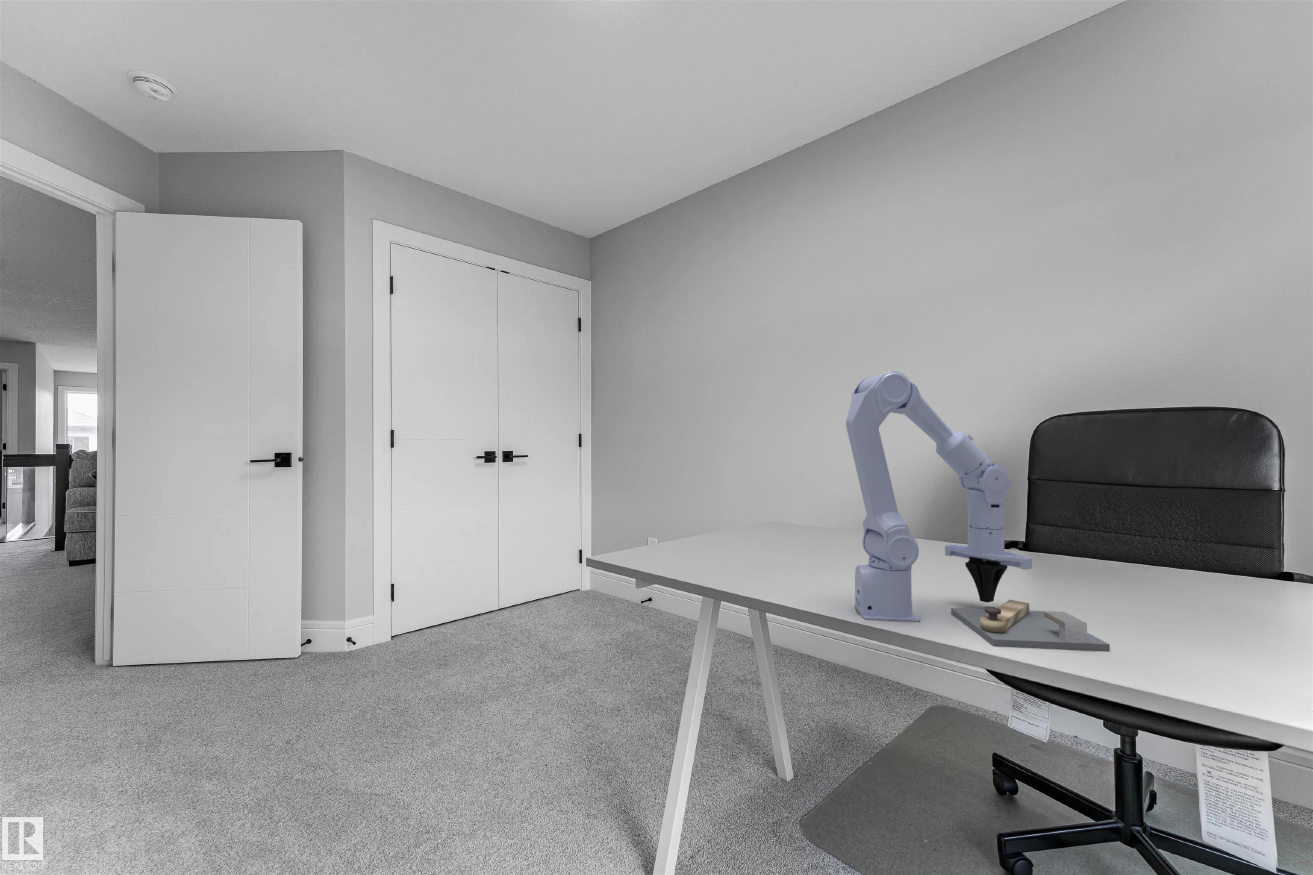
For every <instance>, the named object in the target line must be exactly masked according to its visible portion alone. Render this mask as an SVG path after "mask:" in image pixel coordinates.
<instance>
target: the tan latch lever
mask: <svg viewBox="0 0 1313 875" xmlns="http://www.w3.org/2000/svg"><path fill="white" fill-rule="evenodd" d="M984 609H985V612H986V613H988V614H987V615H985V616H981V617H980V627H981V628H982V629H984V630H987V631H991V632H999V633H1001V632H1006V631H1007V628H1009V627H1010V626H1011V625H1013V624H1014V623H1015V622H1017V621H1018V620H1019V619H1020V618H1022V617H1023V616H1024V615H1026V614H1027V613H1028V612H1029V611H1030V603H1029V602H1026V601H1020V600H1014V599H1008V600H1006V601H1005V602H1004V603H1002V604H1000V605H998V606H997V607H996V606H985V607H984Z"/></svg>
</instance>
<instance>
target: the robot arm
mask: <svg viewBox="0 0 1313 875" xmlns="http://www.w3.org/2000/svg"><path fill="white" fill-rule="evenodd" d="M891 413H893V414H899V415H904V416H905V417H907V418H908V419H909V420H910V421H911V422H912V423H914V425H916V426H917V427H918V428H919V429H920V430H921V431H922V432H923V433H925V435H927V436H928V437H929V438H930V439H931V440H933V441H934V442H935V443H936V445H935V446H936V447H935V451H936V454H937V455H939V457H940V458H941V459H942V460H943V461H944V462H945V463H946V464H947V465H948V466H949V467H950V469H952V470H953V471H954V472H955V473H956V474H957V475H958V480H959V483H960V485H961V487H963V488H964V489H965V490H966V492H967V493H966V494H967V497H966V500H967V503H966V504H967V546H966V545H956V544H947V545H944V553H945V554H944V555H945V556H947V557H948V556H949V557H952V556H954V557H956V558H957V557H959V558H963V559H964V558H965V559H968V561H966V562H964V564H965V568H966V569H967V571H968V572H969V574H970V576H971V577H972V579H973V582H974V584H975V587H976V590H977V594H978V596H979V601H980V602H984V603H988V604H989V603H992V602H994V599H995V594H996V592H997V588H998V585H999V583H1000V580H1001V579H1002V577H1003V575H1004V574H1005V572H1006V571H1007V570H1008V567H1014V568H1019V569H1021V570H1026V571H1027V570H1031V569H1033V558H1032V557H1031V556H1025V555H1022V554H1016V553H1012V552H1009V551H1005V529H1004V528H1005V520H1004V519H1005V517H1004V516H1005V514H1004V508H1005V507H1004V505H1005V504H1004V503H1005V501H1006V494H1007V492H1008V490H1009V489H1010V488H1011V484H1012V478H1011V477H1009V474H1008V472H1007V470H1006V468H1005V467H1004V466H1002V465H1001V464H999V463H993V462H992V461H991V456H989V454H987V453H984V452H983V451H982V450H981V449H980V448H979V447H978V446H977V445H976V444H975V443H974V442H973V441H974V438H973V437H972V436H971V435H970V434H968V433H967V434H965V433H964V432H962V431H953V430H952V429H951V428H950V426H948V425H947V424H946V422H945V421H944V420H943V419H942V417H940V415H939V414H938V413H937V412H936V411H935V410H934V409H933V407H932V406H931V405H930V404H929V403H928V402H927V401H926V399H925V398H924V397H923V396H922V395H921V393H920V391H919V389H918V386H917V385H916V384H915V383H913V382H912V381H910V380H909V378H908V377H907V376H906V375H905V374H904V373H902V372H901V371H897V370H890V371H886V372H884V373H882V374H879V375H875V376H870V377H865V378H864V379H862V380H861V381H859V383H858V384H857V385H856V386H855V387H854V389H853V390H852V391H851V402H850V405H849V409H848V413H847V417H846V419H845V427H846V431H847V436H848V440H849V444H850V448H851V449H850V450H851V452H852V455H853V456H852V458H853V461H854V465H855V470H856V474H857V478H858V482H859V487H860V491H861V495H862V500H863V503H864V504H863V505H864V508H865V512H866V517H865V518H864V520H863V522H862V525H863V526H862V527H863V536H862V539H861V540H862V548H863V550H864V552H865V553H866V554H867V555H868V561H867V562H868V563H867V564H864V565H858V564H857V566H855V572H854V597H855V598H854V601H855V603H854V608H855V610H857V612H858V613H859V615H860V616H861V617H862V618H863V619H864V620H870V621H871V620H874V621H896V622H897V621H898V622H899V621H901V622H920V621H921V618H920V617H919V616H918V615H917V614H915V612H914V611H913V603H912V602H913V601H912V600H913V598H912V590H913V589H912V587H913V585H912V570H913V569H912V567H913V566H912V565H914V564H915V563H916V561H917V560H918V558H919V553H920V552H919V551H920V549H919V544H918V542H917V541H916V539H915V538H914V536H913V535H912V534H911V532H910V530H909V525H908V524H907V522H906V520H905V519H904V518H903V517H902V515H901V514H900V513H899V509H898V506H897V501H896V497H895V493H894V488H893V484H892V481H891V476H890V471H889V468H888V462H887V458H886V454H885V449H884V447H883V441H882V437H881V433H880V427H881V425H882V424H883V422H884V421H885V420H886V419H887V417H888V416H889V415H890V414H891Z"/></svg>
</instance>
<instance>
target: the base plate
mask: <svg viewBox="0 0 1313 875" xmlns="http://www.w3.org/2000/svg"><path fill="white" fill-rule="evenodd" d="M1044 611H1045V610H1029V612H1028V613H1027V614H1026V615H1024V616H1023V617H1022V618H1020V619H1019V620H1018V621H1017V622H1015V623H1014V624H1013V625H1011V626H1010V627H1009V628H1007V631H1006V632H1001V633H999V632H991V631H987V630H984V629H982V628H981V627H980V617H981V616H985V615H987V614H988V613H986V612H985V608H967V607H966V608H965V607H951V608H950V614H951V615H952V616H954V617H955V618H956V619H957V620H959V621H961V622H962V623H963V624H964V625H966V626H967V627H968V628H969V629H971V630H972V631H973V632H975V633H976V634H977V635H978V636H980V637H981V638H983V640H985V641H987V642H988V643H989V644H991V645H992V646H993V647H1009V648H1028V649H1029V648H1033V649H1036V648H1037V649H1054V650H1055V649H1058V650H1073V651H1074V650H1076V651H1077V650H1079V651H1095V652H1096V651H1100V652H1101V651H1102V652H1110V651H1111V650H1110V649H1111V648H1110V646H1111V644H1110V643H1108V642H1106V641H1104V640H1102V639H1100V638H1099V637H1097V636H1094V635H1093V634H1091V633H1089V632H1087V643H1067V642H1064V641H1062V640H1060V639H1059V624H1057V623H1055V622H1054V621H1052V620H1050V619H1048V618H1046V617H1045V616H1044Z"/></svg>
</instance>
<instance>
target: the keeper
mask: <svg viewBox="0 0 1313 875" xmlns="http://www.w3.org/2000/svg"><path fill="white" fill-rule="evenodd" d="M1043 611H1044V616H1045V617H1046V618H1048V619H1050V620H1052V621H1054V622H1055V623H1057V624H1059V639H1060V640H1062V641H1064V642H1067V643H1087V633H1088V623H1087V622H1085V621H1084V620H1082V619H1080V618H1078V617H1075V616H1074V615H1071V614H1070V613H1067V612H1065V611H1053V610H1052V611H1051V610H1049V611H1048V610H1043Z"/></svg>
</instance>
